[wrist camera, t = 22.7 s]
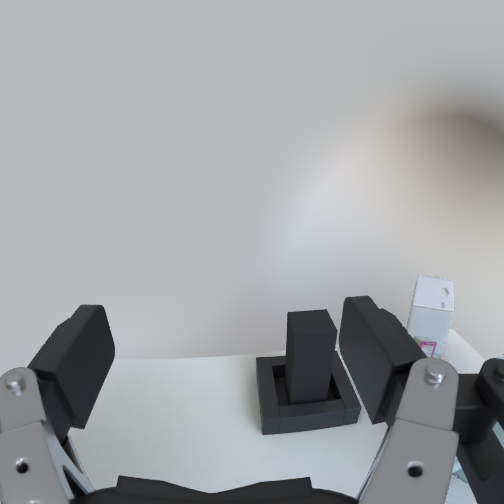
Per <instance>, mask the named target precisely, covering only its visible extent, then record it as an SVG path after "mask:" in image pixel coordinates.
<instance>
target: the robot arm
mask: <svg viewBox="0 0 504 504" xmlns="http://www.w3.org/2000/svg"><path fill="white" fill-rule="evenodd" d="M339 348H340V352H341V355H342V357H343V360H344V362H345V364H346V366H347V368H348V370H349V373H350V375H351V377H352V379H353V382H354V384H355V386H356V388H357V390H358V393H359V395H360V397H361V399H362V402H363V404H364V406H365V408H366V411H367V413H368V415H369V418H370V420H371V422H372V425H373V424H377V423H382V422H386V423H387V426H388V429H387V431H386V433H385V436H384V438H383V441H382V443H381V445H380V448H379V450H378V452H377V455H376V457H375V459H374V461H373V463H372V466H371V468H370V470H369V472H368V474H367V476H366V478H365V480H364V482H363V484H362V486H361V488H360V490H359V491H358V493H357V495H356V497H355V498H353V497H351V496H348V495H345V494H342V493H339V492H334V491H331V490H324V489H315V488H312V485H311V480H310V477H305V478H297V479H289V480H279V481H267V482H259V483H256V484H252V485H248V486H244V487H240V488H236V489H232V490H227V491H222V492H218V493H205V492H201V491H197V490H193V489H189V488H186V487H182V486H178V485H175V484H172V483H168V482H165V481H160V480H150V479H141V478H134V477H127V476H120V475H119V477H118V482H117V486H116V487H110V488H104V489H100V490H95V489H94V487H93V486H92V484H91V483H90V481H89V479H88V477H87V475H86V472H85V470H84V468H83V466H82V464H81V461H80V459H79V457H78V454H77V452H76V449H75V447H74V445H73V442H72V439H71V437H70V436H69V434H68V431H69V429H70V427H74V428H79V429H84V428H85V426H86V423H87V421H88V418H89V416H90V414H91V411H92V409H93V406H94V404H95V401H96V399H97V397H98V394H99V392H100V390H101V387H102V385H103V383H104V381H105V378H106V376H107V374H108V372H109V369H110V367H111V365H112V363H113V360H114V356H115V346H114V341H113V338H112V334H111V331H110V327H109V323H108V320H107V316H106V312H105V309H104V307H103V306H102V305H80V306H79V308H78V309H77V310H76V311H75V313H74V314H73V315H72V317H71V318H68V319H67V320H66V321H64V322H63V323H61V324H60V325H58V326H57V328H56V329H55V331H54V332H53V333H52V334H51V337H49V338H48V340H47V341H46V344H44V345H43V346H42V348H41V349H40V350H39V352H38V353H37V354H36V356H35V357H34V358H33V360H32V361H31V363H30V364H29V365H28V367H27V368H23V367H20V368H14V369H12V370H9V371H7V372H6V373H5V374H3V375H2V376H1V377H0V502H1V504H444V502H445V499H446V495H447V491H448V487H449V483H450V479H451V475H452V471H453V466H454V461H455V456H456V457H457V459H458V461H459V463H460V466H461V468H462V470H463V472H464V474H465V476H466V478H467V481H468V483H469V485H470V487H471V490H472V492H473V494H474V496H475V499H476V501H477V503H478V504H504V448H503V446H502V445H501V443H500V441H499V439H498V438H497V436H496V434H495V433H494V431H493V430H492V429H493V427H494V426H495V424H496V423H497V421H498V423H499V424H500V426H501V428H502V429H503V431H504V359H500V358H492V359H489V360H487V361H485V362H484V364H483V365H482V368H481V370H480V372H479V374H458V373H457V371H456V369H455V368H454V367H453V366H452V365H451V364H449V363H448V362H446V361H444V360H441V359H437V358H428V357H427V356H426V354H425V353H424V352H423V350H422V349H421V348H420V346H419V345H418V344H417V343H416V341H415V340H414V339H413V338H412V336H411V335H410V334H408V331H407V330H406V329H405V327H402V324H401V323H400V321H399V320H398V319H397V318H396V316H395V315H393V314H391V313H390V312H388V311H386V310H385V309H379V308H378V307H377V306H376V304H375V303H374V302H373V300H372V299H371V298H370V297H369V296H356V297H347V298H346V299H345V301H344V305H343V313H342V320H341V328H340V335H339Z"/></svg>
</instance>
